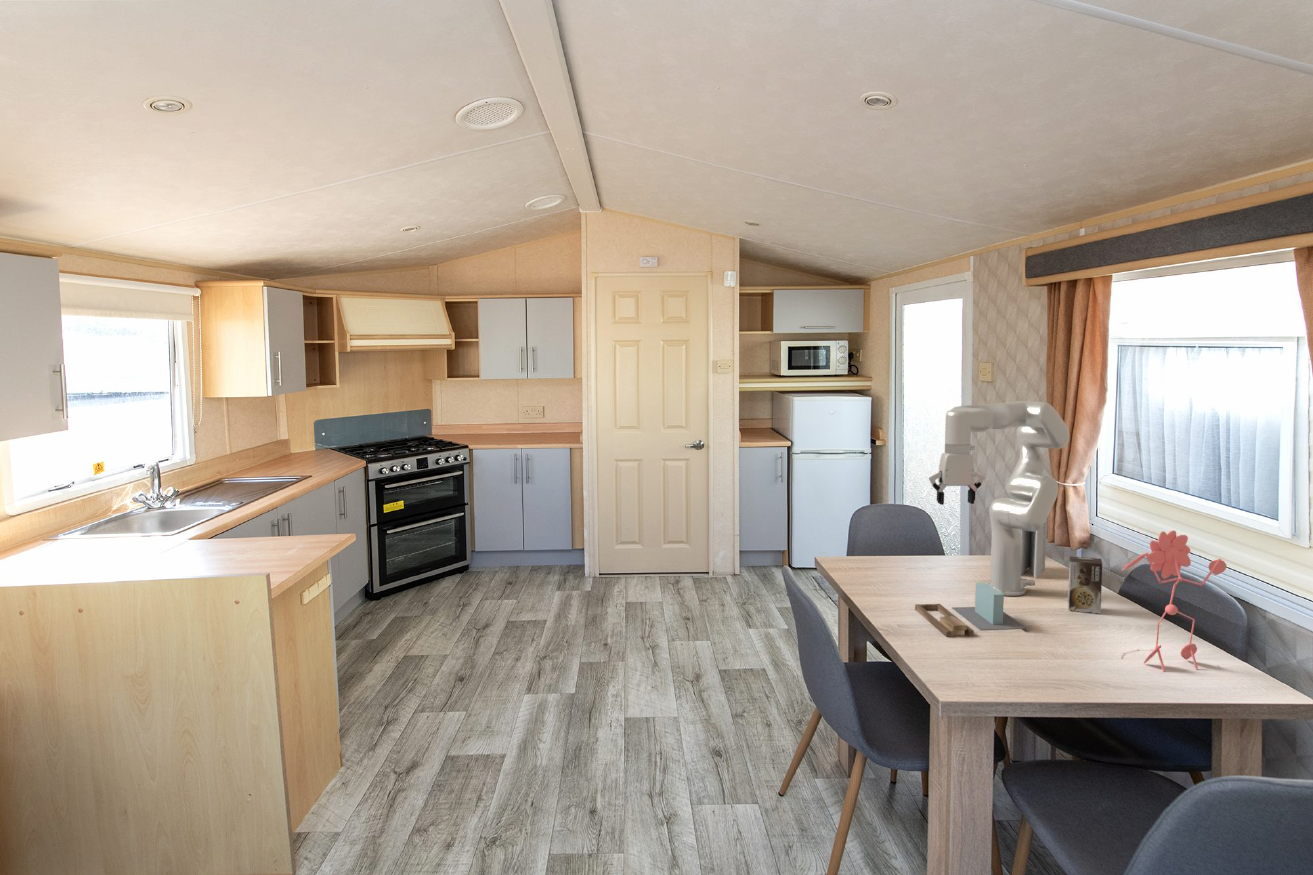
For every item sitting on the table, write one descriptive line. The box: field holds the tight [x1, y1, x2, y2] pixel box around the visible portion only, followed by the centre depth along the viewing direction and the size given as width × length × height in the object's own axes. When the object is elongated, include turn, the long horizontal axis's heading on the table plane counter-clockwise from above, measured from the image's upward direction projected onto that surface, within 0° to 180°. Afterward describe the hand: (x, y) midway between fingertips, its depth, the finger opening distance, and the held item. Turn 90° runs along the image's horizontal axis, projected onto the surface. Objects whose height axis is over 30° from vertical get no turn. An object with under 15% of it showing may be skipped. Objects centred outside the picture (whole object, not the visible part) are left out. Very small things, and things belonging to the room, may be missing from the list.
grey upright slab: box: [1020, 500, 1048, 579], centre depth 297 cm, size 14×6×30 cm, turn 143°
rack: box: [914, 603, 975, 638], centre depth 245 cm, size 8×24×2 cm, turn 3°
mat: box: [951, 606, 1028, 632], centre depth 248 cm, size 14×20×1 cm
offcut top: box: [939, 616, 968, 631], centre depth 237 cm, size 4×8×2 cm, turn 8°
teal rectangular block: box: [974, 582, 1005, 624], centre depth 248 cm, size 3×12×9 cm, turn 3°
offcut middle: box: [939, 621, 966, 637], centre depth 238 cm, size 4×8×2 cm, turn 5°
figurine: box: [1121, 530, 1227, 672], centre depth 215 cm, size 15×26×35 cm, turn 96°
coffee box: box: [1067, 556, 1104, 615], centre depth 256 cm, size 9×6×16 cm
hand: (955, 503), depth 258 cm, fingers open, 9 cm apart
